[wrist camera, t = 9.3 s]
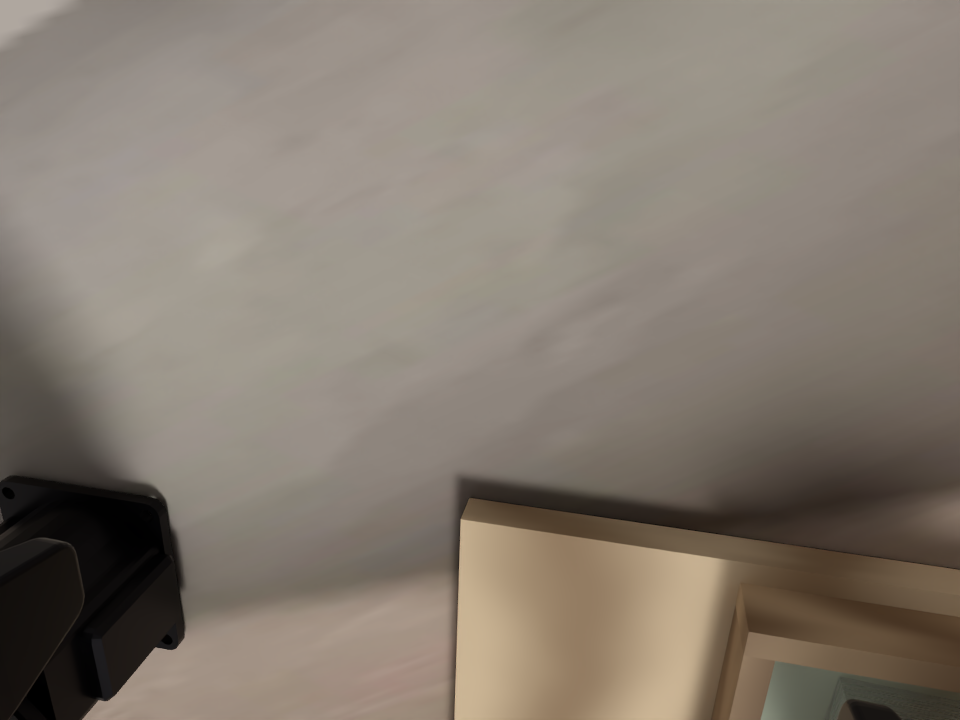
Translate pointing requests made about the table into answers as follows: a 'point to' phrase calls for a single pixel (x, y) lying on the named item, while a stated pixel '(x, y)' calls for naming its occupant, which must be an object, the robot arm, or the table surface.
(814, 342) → the table surface
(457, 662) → the wooden tray
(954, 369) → the table surface
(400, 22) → the table surface
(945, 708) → the grey lidded container
